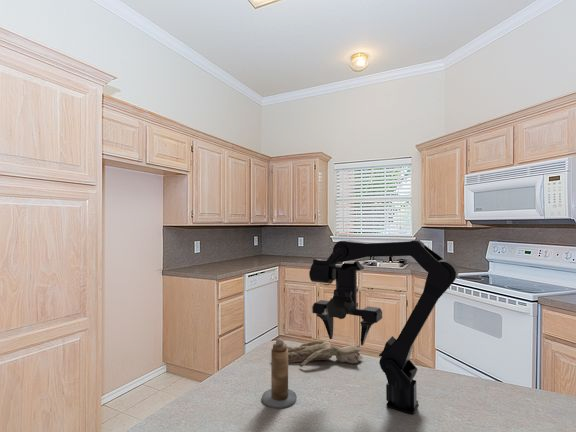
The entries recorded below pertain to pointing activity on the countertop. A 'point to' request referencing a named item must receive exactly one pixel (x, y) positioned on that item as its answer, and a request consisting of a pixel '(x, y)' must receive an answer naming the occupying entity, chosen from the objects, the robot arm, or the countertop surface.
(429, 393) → the countertop surface
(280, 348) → the pepper mill
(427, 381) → the countertop surface
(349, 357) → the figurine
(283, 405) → the coaster
